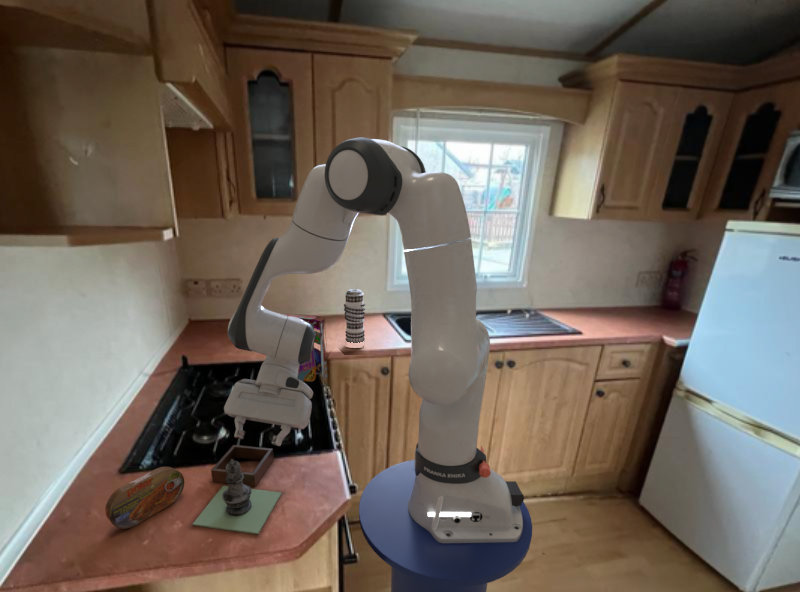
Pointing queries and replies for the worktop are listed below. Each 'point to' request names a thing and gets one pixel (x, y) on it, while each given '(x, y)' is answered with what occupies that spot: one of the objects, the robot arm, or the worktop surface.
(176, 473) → the tin
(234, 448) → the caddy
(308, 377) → the box
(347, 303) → the decorative candle
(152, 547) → the worktop surface
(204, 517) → the mat
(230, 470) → the grey chess piece
